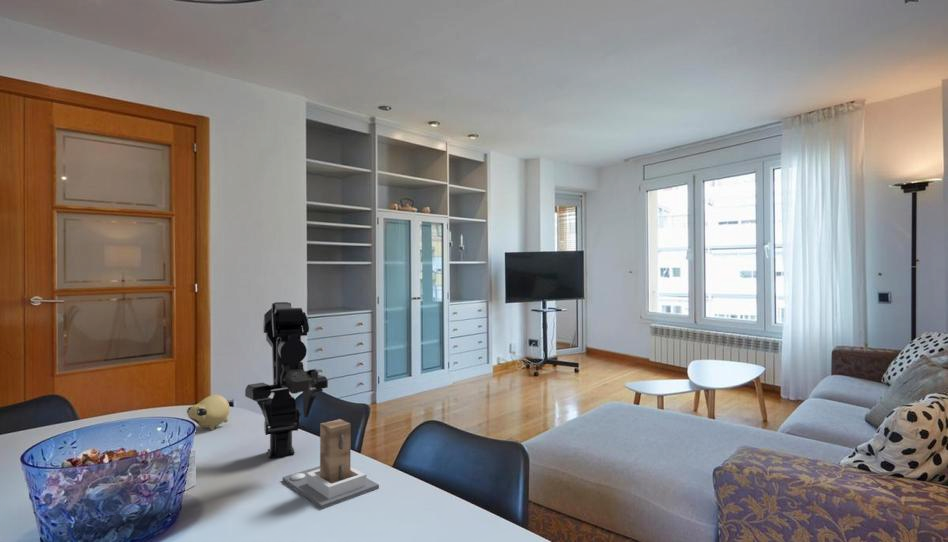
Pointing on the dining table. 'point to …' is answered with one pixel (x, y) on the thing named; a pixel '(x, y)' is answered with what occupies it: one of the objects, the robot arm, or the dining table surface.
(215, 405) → the toy pig
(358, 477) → the grey insertion base
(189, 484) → the medicine box
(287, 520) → the dining table surface
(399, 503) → the dining table surface
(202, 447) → the dining table surface
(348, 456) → the tan tall block
